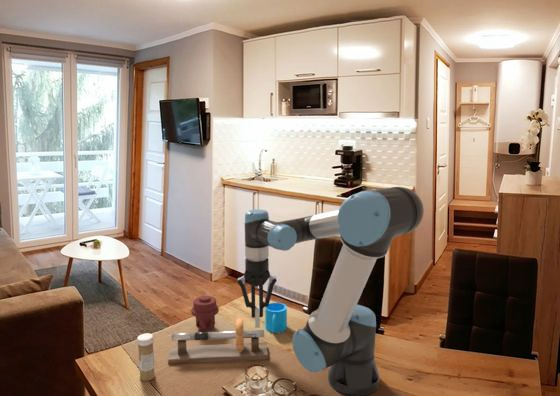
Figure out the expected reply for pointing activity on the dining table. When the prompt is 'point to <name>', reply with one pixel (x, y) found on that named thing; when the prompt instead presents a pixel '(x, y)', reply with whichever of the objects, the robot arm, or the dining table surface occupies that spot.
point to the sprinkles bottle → (146, 356)
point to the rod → (216, 335)
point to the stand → (217, 352)
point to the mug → (276, 317)
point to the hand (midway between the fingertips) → (257, 325)
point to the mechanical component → (205, 312)
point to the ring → (239, 335)
